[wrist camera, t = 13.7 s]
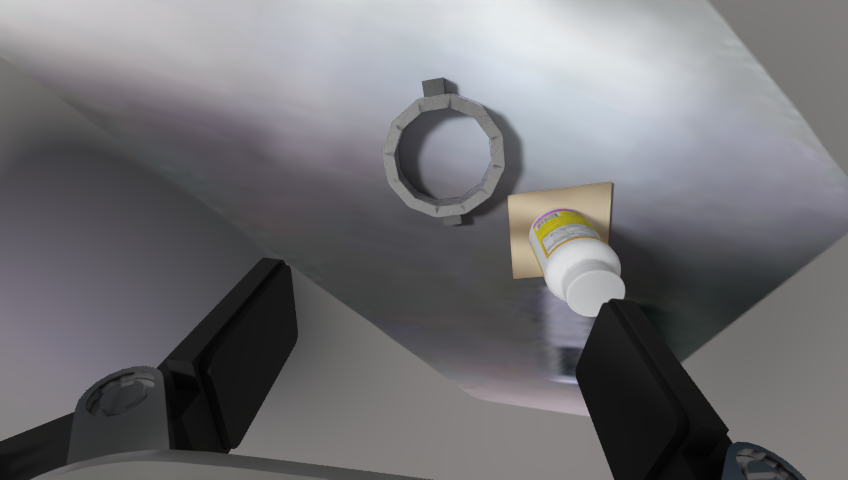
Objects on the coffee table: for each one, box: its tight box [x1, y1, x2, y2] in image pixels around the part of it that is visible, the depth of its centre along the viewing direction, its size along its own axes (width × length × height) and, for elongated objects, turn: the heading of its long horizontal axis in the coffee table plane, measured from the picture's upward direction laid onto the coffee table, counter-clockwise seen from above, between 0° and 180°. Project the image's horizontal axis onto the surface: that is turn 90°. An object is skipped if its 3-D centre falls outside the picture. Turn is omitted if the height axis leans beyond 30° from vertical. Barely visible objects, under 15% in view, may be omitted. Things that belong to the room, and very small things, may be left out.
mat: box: [507, 182, 612, 279], centre depth 41 cm, size 11×11×1 cm
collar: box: [382, 78, 505, 226], centre depth 37 cm, size 15×12×2 cm
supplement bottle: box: [529, 208, 625, 317], centre depth 35 cm, size 7×7×13 cm
